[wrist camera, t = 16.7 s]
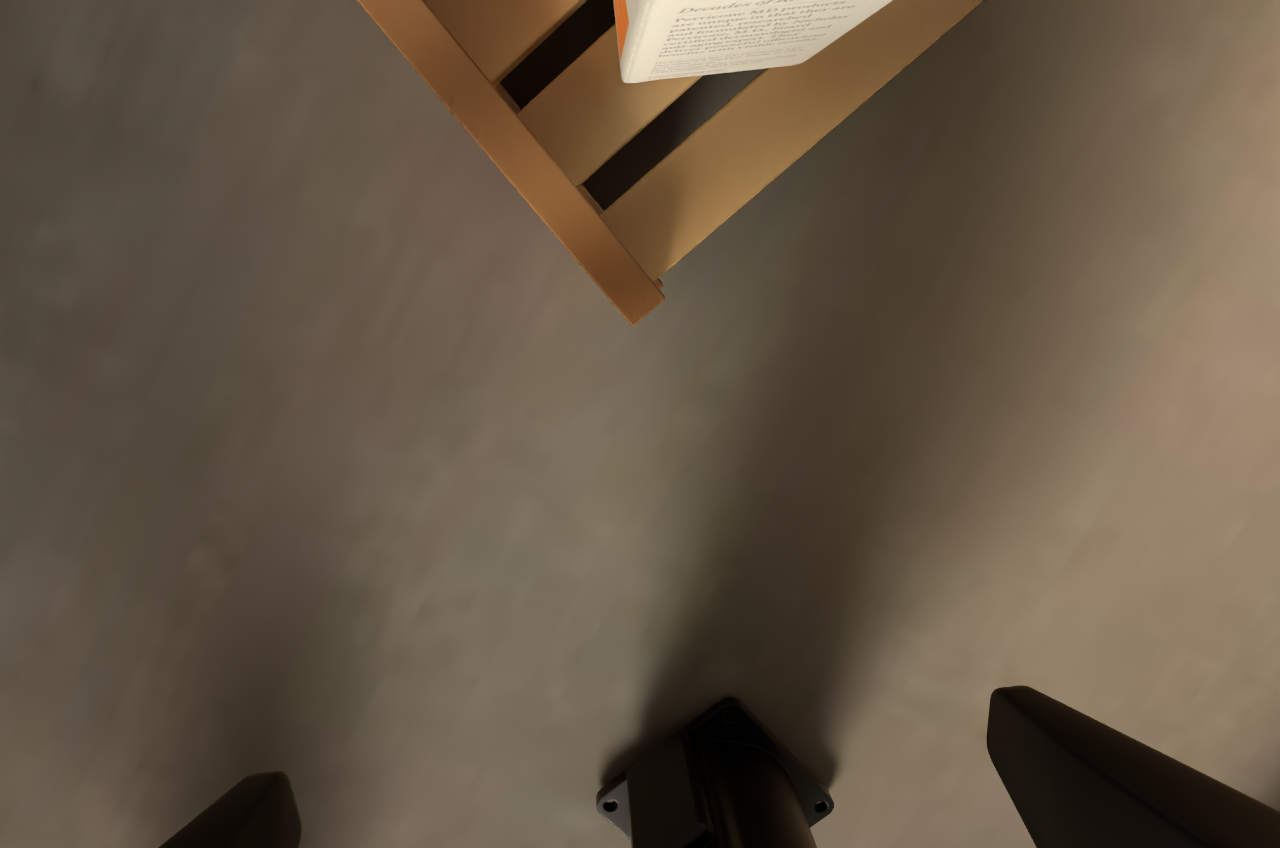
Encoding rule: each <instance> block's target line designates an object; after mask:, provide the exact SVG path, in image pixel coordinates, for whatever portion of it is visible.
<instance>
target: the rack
mask: <svg viewBox="0 0 1280 848" xmlns="http://www.w3.org/2000/svg"><path fill="white" fill-rule="evenodd" d="M357 1H358V2H359V3H360V4H361V6H362V7H363V8H364V9H365V10H366V12H367V13H368V14H369V15H370V16H371V17H372V19H373V20H374V21H375V22H376V23H377V25H378V26H379V27H380V28H381V29H382V31H383V32H384V33H385V34H386V35H387V36H388V38H389V39H390V40H391V41H392V42H393V44H394V45H395V46H396V47H397V48H398V49H399V51H400V52H401V53H402V54H403V55H404V57H405V58H406V59H407V60H408V61H409V63H410V64H411V65H412V66H413V67H414V68H415V70H416V71H417V72H418V73H419V74H420V76H421V77H422V78H423V79H424V80H425V81H426V83H427V84H428V85H429V86H430V87H431V89H432V90H433V91H434V92H435V93H436V95H437V96H438V97H439V98H440V99H441V100H442V102H443V103H444V104H445V105H446V106H447V108H448V109H449V110H450V111H451V112H452V114H453V115H454V116H455V117H456V118H457V119H458V121H459V122H460V123H461V124H462V125H463V127H464V128H465V129H466V130H467V131H468V132H469V134H470V135H471V136H472V137H473V138H474V140H475V141H476V142H477V143H478V144H479V146H480V147H481V148H482V149H483V150H484V151H485V153H486V154H487V155H488V156H489V157H490V159H491V160H492V161H493V162H494V163H495V165H496V166H497V167H498V168H499V169H500V170H501V172H502V173H503V174H504V175H505V176H506V178H507V179H508V180H509V181H510V182H511V183H512V185H513V186H514V187H515V188H516V189H517V191H518V192H519V193H520V194H521V195H522V197H523V198H524V199H525V200H526V201H527V202H528V204H529V205H530V206H531V207H532V208H533V210H534V211H535V212H536V213H537V214H538V215H539V217H540V218H541V219H542V220H543V221H544V223H545V224H546V225H547V226H548V227H549V229H550V230H551V231H552V232H553V233H554V234H555V236H556V237H557V238H558V239H559V240H560V242H561V243H562V244H563V245H564V246H565V248H566V249H567V250H568V251H569V252H570V253H571V255H572V256H573V257H574V258H575V259H576V261H577V262H578V263H579V264H580V265H581V266H582V268H583V269H584V270H585V271H586V272H587V274H588V275H589V276H590V277H591V278H592V280H593V281H594V282H595V283H596V284H597V285H598V287H599V288H600V289H601V290H602V291H603V293H604V294H605V295H606V296H607V297H608V298H609V300H610V301H611V302H612V303H613V304H614V306H615V307H616V308H617V309H618V310H619V312H620V313H621V314H622V315H623V316H624V317H625V319H626V320H627V321H628V322H629V323H630V325H632V326H634V325H635V324H637V323H638V322H639V321H640V320H641V319H643V318H644V317H645V316H646V315H647V314H648V313H650V312H651V311H652V310H653V309H654V308H656V307H657V306H658V305H659V304H660V303H661V302H663V301H664V300H665V296H664V295H663V293H662V292H661V291H660V290H659V289H660V288H661V287H663V283H662V282H661V281H660V280H659V277H660V276H662V275H663V274H664V273H665V272H666V271H667V270H669V269H670V268H671V267H672V266H673V265H674V264H676V263H677V262H678V261H679V260H680V259H681V258H683V257H684V256H685V255H686V254H687V253H688V252H690V251H691V250H692V249H693V248H694V247H695V246H697V245H698V244H699V243H700V242H701V241H703V240H704V239H705V238H706V237H707V236H708V235H710V234H711V233H712V232H713V231H714V230H715V229H717V228H718V227H719V226H720V225H721V224H722V223H724V222H725V221H726V220H727V219H728V218H729V217H731V216H732V215H733V214H734V213H735V212H736V211H738V210H739V209H740V208H741V207H742V206H743V205H745V204H746V203H747V202H748V201H749V200H750V199H752V198H753V197H754V196H755V195H756V194H757V193H759V192H760V191H761V190H762V189H763V188H764V187H766V186H767V185H768V184H769V183H770V182H772V181H773V180H774V179H775V178H776V177H777V176H779V175H780V174H781V173H782V172H783V171H784V170H786V169H787V168H788V167H789V166H790V165H791V164H793V163H794V162H795V161H796V160H797V159H798V158H800V157H801V156H802V155H803V154H804V153H805V152H807V151H808V150H809V149H810V148H811V147H812V146H814V145H815V144H816V143H817V142H818V141H819V140H821V139H822V138H823V137H824V136H825V135H826V134H828V133H829V132H830V131H831V130H832V129H833V128H835V127H836V126H837V125H838V124H839V123H840V122H842V121H843V120H844V119H845V118H846V117H848V116H849V115H850V114H851V113H852V112H853V111H855V110H856V109H857V108H858V107H859V106H860V105H862V104H863V103H864V102H865V101H866V100H867V99H869V98H870V97H871V96H872V95H873V94H874V93H876V92H877V91H878V90H879V89H880V88H881V87H883V86H884V85H885V84H886V83H887V82H888V81H890V80H891V79H892V78H893V77H894V76H895V75H897V74H898V73H899V72H900V71H901V70H902V69H904V68H905V67H906V66H907V65H908V64H909V63H911V62H912V61H913V60H914V59H915V58H917V57H918V56H919V55H920V54H921V53H922V52H924V51H925V50H926V49H927V48H928V47H929V46H931V45H932V44H933V43H934V42H935V41H936V40H938V39H939V38H940V37H941V36H942V35H943V34H945V33H946V32H947V31H948V30H949V29H950V28H952V27H953V26H954V25H955V24H956V23H957V22H959V21H960V20H961V19H962V18H963V17H964V16H966V15H967V14H968V13H969V12H970V11H971V10H973V9H974V8H975V7H976V6H977V5H978V4H980V3H982V2H984V1H986V0H892V1H891V2H890V3H888V4H887V5H886V6H884V7H883V8H881V9H880V10H878V11H877V12H876V13H874V14H873V15H871V16H870V17H868V18H867V19H865V20H864V21H863V22H861V23H860V24H858V25H857V26H856V27H854V28H853V29H851V30H850V31H848V32H847V33H845V34H844V35H842V36H841V37H840V38H838V39H837V40H835V41H834V42H832V43H831V44H829V45H828V46H826V47H825V48H824V49H823V50H821V51H820V52H818V53H816V54H815V55H814V56H812V57H811V58H809V59H808V60H806V61H805V62H803V63H801V64H797V65H792V66H783V67H774V68H766V69H765V70H764V71H762V72H761V73H760V74H759V75H758V76H757V77H756V78H755V79H753V80H752V81H751V82H750V83H749V84H748V85H747V86H745V87H744V88H743V89H742V90H741V91H740V92H739V93H737V94H736V95H735V96H734V97H733V98H732V99H731V100H730V101H728V102H727V103H726V104H725V105H724V106H723V107H722V108H720V109H719V110H718V111H717V112H716V113H715V114H714V115H713V116H711V117H710V118H709V119H708V120H707V121H706V122H705V123H703V124H702V125H701V126H700V127H699V128H698V129H697V130H696V131H694V132H693V133H692V134H691V135H690V136H689V137H688V138H686V139H685V140H684V141H683V142H682V143H681V144H680V145H679V146H677V147H676V148H675V149H674V150H673V151H672V152H671V153H669V154H668V155H667V156H666V157H665V158H664V159H663V160H662V161H660V162H659V163H658V164H657V165H656V166H655V167H654V168H652V169H651V170H650V171H649V172H648V173H647V174H646V175H645V176H643V177H642V178H641V179H640V180H639V181H638V182H637V183H635V184H634V185H633V186H632V187H631V188H630V189H629V190H627V191H626V192H625V193H624V194H623V195H622V196H621V197H620V198H618V199H617V200H616V201H615V202H614V203H613V204H612V205H610V206H609V207H608V208H607V209H606V210H605V211H604V210H603V209H602V208H601V207H600V205H599V204H598V203H597V202H596V201H595V199H594V198H593V197H592V196H591V194H590V193H589V192H588V191H587V189H586V188H585V187H584V186H583V184H582V183H583V182H585V181H586V180H587V179H588V178H589V177H590V176H591V175H592V174H594V173H595V172H596V171H597V170H598V169H599V168H600V167H601V166H603V165H604V164H605V163H606V162H607V161H608V160H609V159H610V158H611V157H613V156H614V155H615V154H616V153H617V152H618V151H619V150H620V149H622V148H623V147H624V146H625V145H626V144H627V143H628V142H629V141H631V140H632V139H633V138H634V137H635V136H636V135H637V134H638V133H639V132H641V131H642V130H643V129H644V128H645V127H646V126H647V125H648V124H650V123H651V122H652V121H653V120H654V119H655V118H656V117H657V116H659V115H660V114H661V113H662V112H663V111H664V110H665V109H666V108H667V107H669V106H670V105H671V104H672V103H673V102H674V101H675V100H676V99H678V98H679V97H680V96H681V95H682V94H683V93H684V92H685V91H687V90H688V89H689V88H690V87H691V86H692V85H693V84H694V83H695V82H697V81H698V80H699V79H700V78H701V77H702V76H703V75H701V76H691V77H681V78H670V79H660V80H653V81H647V82H640V83H624V82H623V81H622V79H621V71H620V62H619V52H618V42H617V31H616V23H615V24H614V25H613V26H612V27H611V28H609V29H608V30H607V31H606V32H605V33H604V34H603V35H602V36H601V37H600V38H599V39H598V40H596V41H595V42H594V43H593V44H592V45H591V46H590V47H589V48H588V49H587V50H586V51H585V52H583V53H582V54H581V55H580V56H579V57H578V58H577V59H576V60H575V61H574V62H573V63H572V64H570V65H569V66H568V67H567V68H566V69H565V70H564V71H563V72H562V73H561V74H560V75H559V76H557V77H556V78H555V79H554V80H553V81H552V82H551V83H550V84H549V85H548V86H547V87H546V88H544V89H543V90H542V91H541V92H540V93H539V94H538V95H537V96H536V97H535V98H534V99H533V100H531V101H530V102H529V103H528V104H527V105H526V106H525V107H524V108H523V109H521V108H520V107H519V105H518V104H517V103H516V102H515V100H514V99H513V98H512V97H511V96H510V94H509V93H508V92H507V91H506V89H505V88H504V87H503V86H502V84H501V83H500V81H501V80H503V79H504V78H505V77H506V76H507V75H508V74H509V73H510V72H511V71H512V70H513V69H514V68H515V67H516V66H518V65H519V64H520V63H521V62H522V61H523V60H524V59H525V58H526V57H527V56H528V55H529V54H530V53H531V52H533V51H534V50H535V49H536V48H537V47H538V46H539V45H540V44H541V43H542V42H543V41H544V40H545V39H546V38H547V37H549V36H550V35H551V34H552V33H553V32H554V31H555V30H556V29H557V28H558V27H559V26H560V25H561V24H562V23H564V22H565V21H566V20H567V19H568V18H569V17H570V16H571V15H572V14H573V13H574V12H575V11H576V10H577V9H579V8H580V7H581V6H582V5H583V4H584V3H585V2H586V1H587V0H357Z"/></svg>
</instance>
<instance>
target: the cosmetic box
mask: <svg viewBox="0 0 1280 848" xmlns="http://www.w3.org/2000/svg"><path fill="white" fill-rule="evenodd" d="M891 1H892V0H613V2H614V12H615V21H616V31H617V42H618V52H619V62H620V71H621V79H622V81H623V82H624V83H640V82H647V81H653V80H660V79H670V78H681V77H691V76H701V75H711V74H720V73H729V72H738V71H747V70H756V69H765V68H774V67H783V66H792V65H797V64H801V63H803V62H805V61H806V60H808V59H809V58H811V57H812V56H814V55H815V54H816V53H818V52H820V51H821V50H823V49H824V48H825V47H826V46H828V45H829V44H831V43H832V42H834V41H835V40H837V39H838V38H840V37H841V36H842V35H844V34H845V33H847V32H848V31H850V30H851V29H853V28H854V27H856V26H857V25H858V24H860V23H861V22H863V21H864V20H865V19H867V18H868V17H870V16H871V15H873V14H874V13H876V12H877V11H878V10H880V9H881V8H883V7H884V6H886V5H887V4H888V3H890V2H891Z"/></svg>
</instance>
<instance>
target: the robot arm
mask: <svg viewBox="0 0 1280 848" xmlns="http://www.w3.org/2000/svg"><path fill="white" fill-rule="evenodd" d="M728 711H735V712H734V713H732V714H730V715H726V714H725V713H726V712H728ZM987 748H988V752H989V755H990V758H991V760H992V762H993V764H994V766H995V768H996V770H997V772H998V774H999V776H1000V778H1001V780H1002V782H1003V784H1004V785H1005V787H1006V789H1007V791H1008V793H1009V795H1010V797H1011V799H1012V801H1013V803H1014V805H1015V807H1016V809H1017V811H1018V812H1019V814H1020V816H1021V818H1022V820H1023V822H1024V824H1025V826H1026V828H1027V830H1028V832H1029V834H1030V836H1031V838H1032V839H1033V841H1034V843H1035V845H1036V847H1037V848H1280V812H1279V811H1277V810H1275V809H1273V808H1271V807H1269V806H1267V805H1265V804H1263V803H1261V802H1259V801H1257V800H1255V799H1253V798H1251V797H1249V796H1247V795H1245V794H1243V793H1241V792H1239V791H1237V790H1235V789H1233V788H1231V787H1229V786H1227V785H1225V784H1223V783H1221V782H1219V781H1217V780H1215V779H1213V778H1211V777H1209V776H1207V775H1205V774H1203V773H1201V772H1199V771H1197V770H1195V769H1193V768H1191V767H1189V766H1187V765H1185V764H1183V763H1181V762H1179V761H1177V760H1175V759H1173V758H1171V757H1169V756H1167V755H1165V754H1163V753H1161V752H1159V751H1157V750H1155V749H1153V748H1151V747H1149V746H1147V745H1145V744H1143V743H1141V742H1139V741H1137V740H1135V739H1133V738H1131V737H1129V736H1127V735H1125V734H1123V733H1121V732H1119V731H1117V730H1115V729H1113V728H1111V727H1109V726H1107V725H1105V724H1103V723H1101V722H1099V721H1097V720H1095V719H1093V718H1091V717H1089V716H1087V715H1085V714H1083V713H1081V712H1079V711H1077V710H1075V709H1073V708H1071V707H1069V706H1067V705H1065V704H1063V703H1061V702H1059V701H1057V700H1055V699H1053V698H1051V697H1049V696H1047V695H1045V694H1043V693H1041V692H1039V691H1037V690H1035V689H1033V688H1030V687H1028V686H1011V687H1003V688H998V689H996V690H994V691H993V693H992V695H991V699H990V708H989V718H988V728H987ZM609 800H613V801H614V802H606V801H609ZM820 801H822V802H820ZM818 802H820V803H818ZM596 803H597V810H598V812H599V813H600V814H601V815H602V816H603V817H604V818H605V819H607V820H608V821H609V822H610V823H611V824H612V825H613V826H615V827H616V828H617V829H618V830H619V831H620V832H622V833H623V834H624V835H625V836H626V837H627V838H628V839H630V840H631V845H632V848H817V847H816V844H815V841H814V839H813V836H812V833H811V831H810V827H811V826H813V825H814V824H816V823H817V822H819V821H820V820H821V819H823V818H824V817H826V816H827V815H828V814H830V813H831V812H832V810H833V808H834V802H833V800H832V798H831V795H830V793H829V792H828V790H827V789H826V788H825V787H824V786H823V785H822V784H821V783H820V782H819V781H818V780H817V779H816V778H815V777H814V776H813V775H812V774H811V773H810V772H809V771H808V770H807V769H806V768H805V767H804V766H803V765H802V764H801V763H800V762H799V761H798V760H797V758H796V757H795V756H794V755H793V754H792V753H791V752H790V751H789V750H788V749H787V748H786V747H785V746H784V745H783V744H782V743H781V742H780V741H779V740H778V739H777V738H776V737H775V736H774V735H773V734H772V733H771V732H770V731H769V730H768V729H767V728H766V727H765V726H764V725H763V724H762V723H761V722H760V721H759V720H758V719H757V718H756V717H755V716H754V715H753V713H752V712H751V711H750V710H749V709H748V708H747V707H746V706H745V705H744V704H743V703H742V702H741V701H740V700H738V699H737V698H734V697H725V698H723V699H721V700H720V701H718V702H717V703H715V704H714V705H713V706H711V707H710V708H709V709H707V710H706V711H705V712H703V713H702V714H701V715H699V716H698V717H697V718H695V719H694V720H693V721H691V722H690V723H689V724H687V725H686V726H685V727H683V728H682V729H681V730H679V731H678V732H676V733H675V734H673V735H672V736H671V737H669V738H668V739H667V740H665V741H664V742H663V743H661V744H660V745H659V746H657V747H656V748H655V749H653V750H652V751H651V752H649V753H648V754H647V755H645V756H644V757H643V758H641V759H640V760H639V761H637V762H636V763H635V764H633V765H632V766H631V767H629V768H628V769H627V770H626V771H624V772H623V773H622V774H620V775H619V776H618V777H616V778H615V779H614V780H612V781H611V782H610V783H608V784H607V785H606V786H604V787H603V788H602V789H601V790H600V791H599V792H598V793H597V796H596ZM816 803H818V804H816ZM301 830H302V828H301V820H300V816H299V812H298V808H297V805H296V801H295V797H294V793H293V790H292V786H291V782H290V779H289V777H288V775H287V774H286V773H285V772H283V771H271V772H262V773H254V774H251V775H248V776H247V777H245V778H244V779H242V780H241V781H240V782H239V783H237V784H236V785H235V786H234V787H233V788H231V789H230V790H229V791H228V792H226V793H225V794H224V795H223V796H221V797H220V798H219V799H218V800H217V801H215V802H214V803H213V804H212V805H210V806H209V807H208V808H207V809H205V810H204V811H203V812H202V813H201V814H199V815H198V816H197V817H196V818H194V819H193V820H192V821H191V822H189V823H188V824H187V825H186V826H185V827H183V828H182V829H181V830H180V831H178V832H177V833H176V834H175V835H173V836H172V837H171V838H170V839H169V840H167V841H166V842H165V843H164V844H162V845H161V846H160V847H159V848H299V845H300V840H301Z"/></svg>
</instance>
